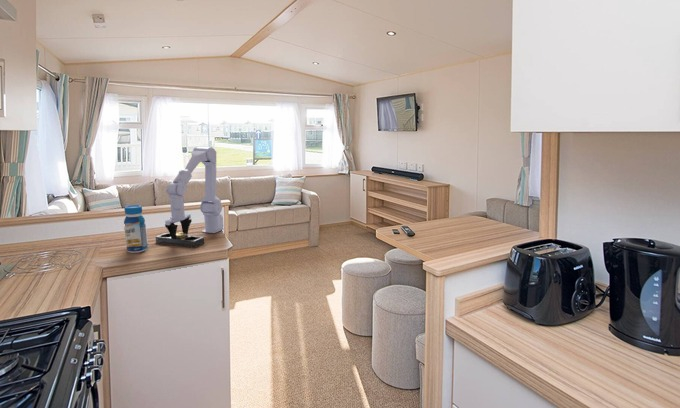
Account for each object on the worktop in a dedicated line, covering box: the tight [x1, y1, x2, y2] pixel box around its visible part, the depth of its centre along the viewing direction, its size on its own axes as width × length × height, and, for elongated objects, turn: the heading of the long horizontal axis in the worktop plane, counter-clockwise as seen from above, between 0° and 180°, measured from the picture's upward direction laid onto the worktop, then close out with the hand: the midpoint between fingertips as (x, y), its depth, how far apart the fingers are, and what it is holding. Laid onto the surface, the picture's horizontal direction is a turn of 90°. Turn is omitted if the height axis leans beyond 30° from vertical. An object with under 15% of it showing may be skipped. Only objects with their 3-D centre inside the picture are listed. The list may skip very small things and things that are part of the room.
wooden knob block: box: [176, 231, 186, 239], centre depth 183 cm, size 4×4×4 cm
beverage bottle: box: [123, 204, 148, 254], centre depth 170 cm, size 8×8×20 cm
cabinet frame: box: [155, 232, 205, 249], centre depth 183 cm, size 7×22×3 cm, turn 71°
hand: (179, 236), depth 183 cm, fingers open, 7 cm apart
